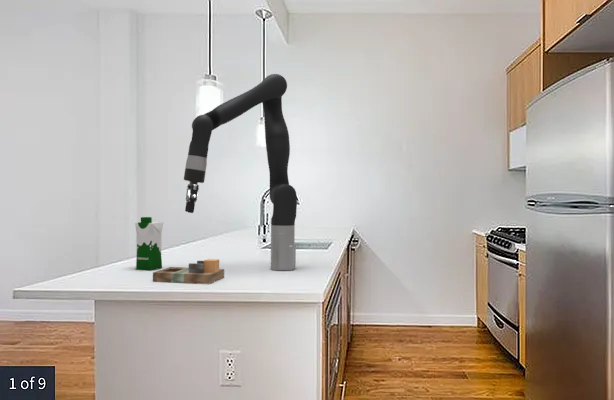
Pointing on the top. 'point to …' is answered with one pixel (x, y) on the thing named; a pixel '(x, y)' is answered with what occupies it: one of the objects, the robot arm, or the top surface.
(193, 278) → the wooden tray
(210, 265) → the orange block
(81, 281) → the top surface
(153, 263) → the milk carton
